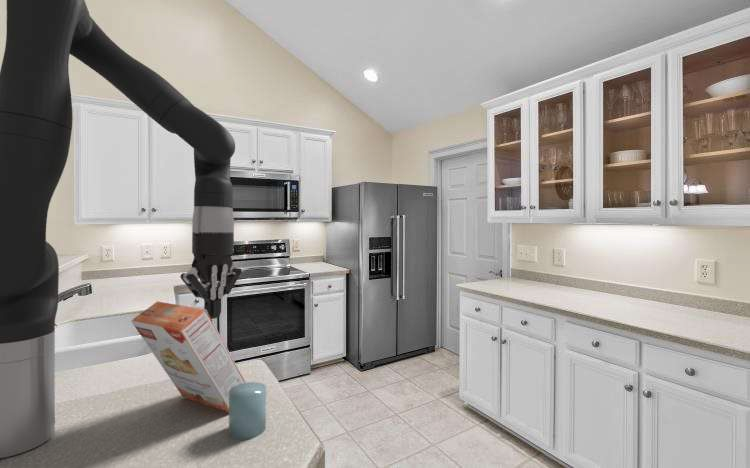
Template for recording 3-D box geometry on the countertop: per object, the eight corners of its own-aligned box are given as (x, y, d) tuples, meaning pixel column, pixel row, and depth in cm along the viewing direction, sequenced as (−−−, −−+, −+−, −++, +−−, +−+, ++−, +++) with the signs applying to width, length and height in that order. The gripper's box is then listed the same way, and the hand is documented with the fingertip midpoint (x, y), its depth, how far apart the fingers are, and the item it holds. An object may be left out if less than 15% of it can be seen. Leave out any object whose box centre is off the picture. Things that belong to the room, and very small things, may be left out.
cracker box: (181, 399, 74) (128, 320, 65) (204, 376, 79) (157, 299, 70) (229, 416, 68) (178, 330, 58) (251, 389, 72) (206, 306, 63)
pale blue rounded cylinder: (247, 443, 59) (247, 400, 59) (221, 433, 62) (221, 392, 62) (273, 425, 64) (273, 386, 64) (247, 417, 67) (248, 379, 67)
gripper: (227, 230, 80) (226, 309, 80) (169, 230, 68) (168, 322, 68) (252, 231, 76) (251, 313, 77) (196, 230, 65) (195, 328, 65)
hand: (212, 317), depth 72 cm, fingers closed
